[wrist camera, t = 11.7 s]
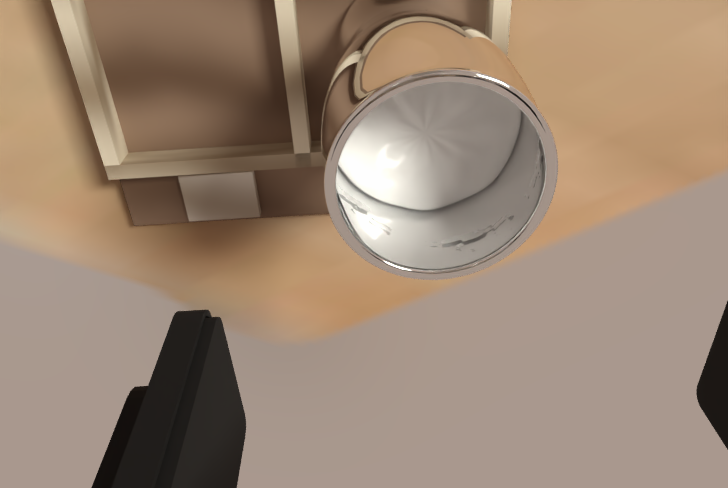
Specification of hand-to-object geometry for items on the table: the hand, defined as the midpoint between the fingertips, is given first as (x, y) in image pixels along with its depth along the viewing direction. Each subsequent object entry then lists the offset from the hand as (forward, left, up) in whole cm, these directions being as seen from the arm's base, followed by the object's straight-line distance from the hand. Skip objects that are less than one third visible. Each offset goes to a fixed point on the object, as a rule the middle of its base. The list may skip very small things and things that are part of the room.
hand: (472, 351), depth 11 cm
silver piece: (0, 0, -22) cm, 22 cm away
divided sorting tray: (+2, -5, -23) cm, 23 cm away
